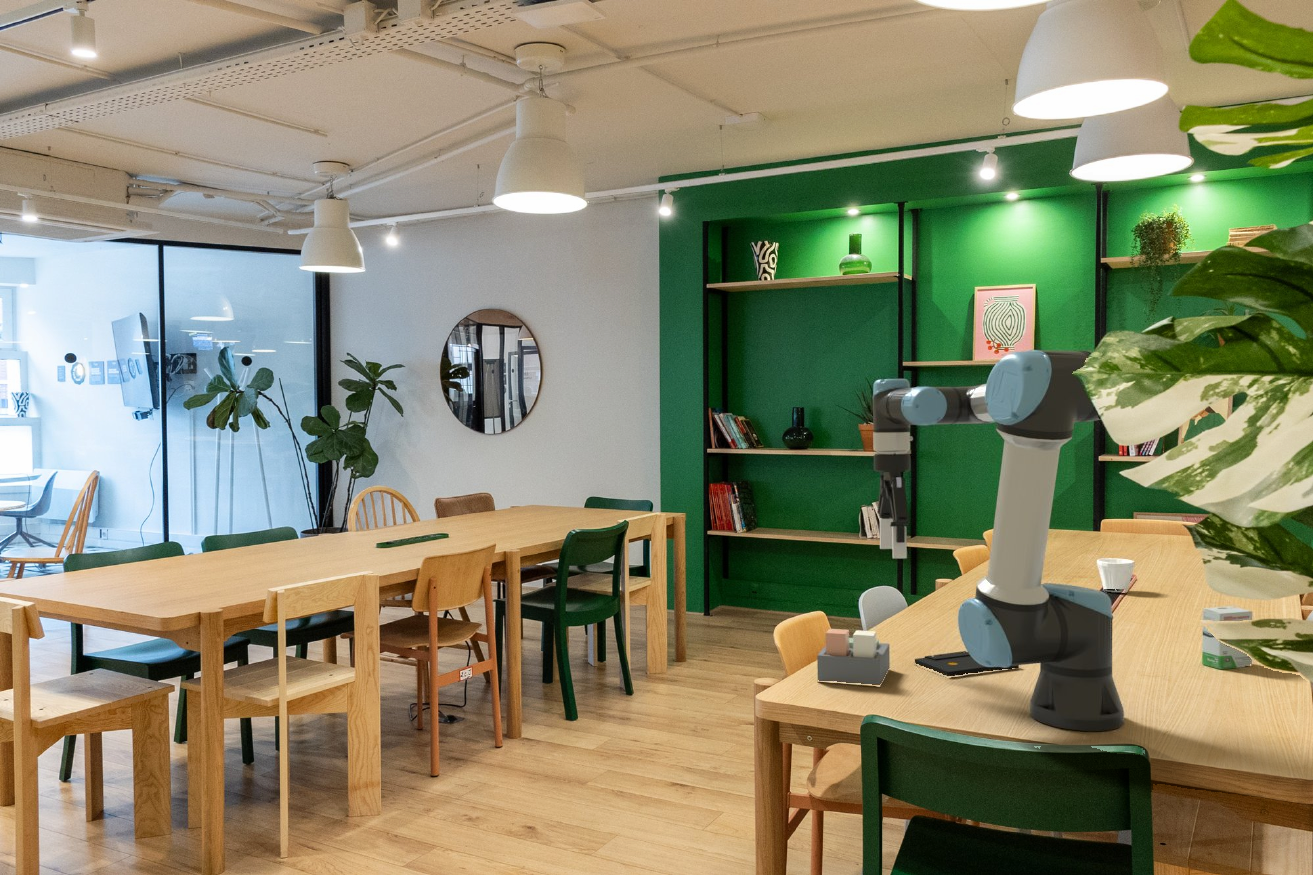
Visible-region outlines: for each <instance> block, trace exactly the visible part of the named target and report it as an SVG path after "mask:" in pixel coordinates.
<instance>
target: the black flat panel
mask: <svg viewBox="0 0 1313 875" xmlns="http://www.w3.org/2000/svg"><path fill="white" fill-rule="evenodd" d="M915 663H916V664H919V665H921V666H924V667H926V668H929V669H933V670H934V671H937V672H939V673H942V674H943V675H947V676H955V675H963V674H965V673H966V674H968V673H978V672H983V671H993V670H1002V669H1012V668H1019V666H1020V665H1016V666H1009V667H1006V668H1004V667H986V666H983V665H981V664H979V663H978V662H976V661H975V660H974V659H973V658H972V657H971V656H970V654H969V653H968V651H967V650H964V651H956V652H948V653H947V652H946V653H940V654H939V653H938V654H933V655H931V654H930V655H925V656H924V657H919V658H914V664H915Z"/></svg>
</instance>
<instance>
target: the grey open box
mask: <svg viewBox="0 0 1313 875" xmlns="http://www.w3.org/2000/svg"><path fill="white" fill-rule="evenodd" d="M876 652H877V657H876V658H866V657H853V637H849V655H848V656H838V655H826V645H825V646H824V647H823V648H822V649H821V650H820V651H819V653H818V654H817V661H816V662H817V664H816V665H817V666H816V667H817V668H816V669H817V681H818V680H819V681H837V682H846V683H861V684H872V685H880V684H881V683H882V681H883V679H884V677H885V675H886V673H887V671H888V669H889V668H891V667H890V664H891V663H890V661H891V660H890V656H891V655H890V643H885V642H884V643H883V642H880V640H879V639H876ZM883 682H884V681H883ZM882 684H883V683H882Z"/></svg>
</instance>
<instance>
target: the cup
mask: <svg viewBox="0 0 1313 875" xmlns="http://www.w3.org/2000/svg"><path fill="white" fill-rule="evenodd" d="M1096 565H1097V568H1098V572H1099V576H1100V580H1101V584H1102V588H1103V590H1104V589H1115V590H1116V589H1124V590H1126V593H1125V594H1127V593H1128V591H1129V588H1130V584H1131V579H1132V575H1133V572H1134V568H1135V561H1134V560H1133V559H1132V560H1131V559H1127V558H1126V559H1125V558H1114V557H1113V558H1109V557H1105V558H1098V559H1097V560H1096Z"/></svg>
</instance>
